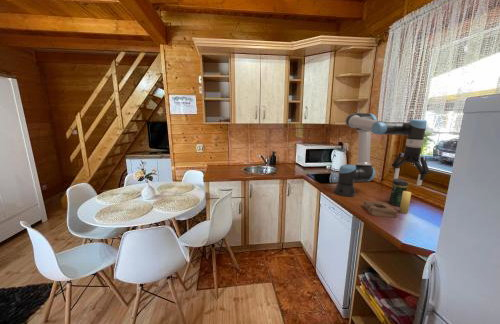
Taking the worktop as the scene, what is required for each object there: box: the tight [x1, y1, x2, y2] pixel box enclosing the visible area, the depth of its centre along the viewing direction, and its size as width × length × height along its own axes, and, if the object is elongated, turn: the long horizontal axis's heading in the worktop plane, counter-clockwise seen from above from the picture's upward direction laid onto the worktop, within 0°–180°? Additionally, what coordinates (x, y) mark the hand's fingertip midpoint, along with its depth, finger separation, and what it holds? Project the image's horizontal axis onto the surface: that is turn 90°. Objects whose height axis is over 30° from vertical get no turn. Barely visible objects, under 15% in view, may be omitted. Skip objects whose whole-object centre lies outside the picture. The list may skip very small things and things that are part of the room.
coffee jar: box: [389, 177, 409, 207], centre depth 148 cm, size 10×8×19 cm
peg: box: [398, 190, 412, 215], centre depth 135 cm, size 4×4×14 cm
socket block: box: [363, 200, 398, 218], centre depth 136 cm, size 14×14×4 cm
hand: (406, 181), depth 125 cm, fingers open, 13 cm apart
